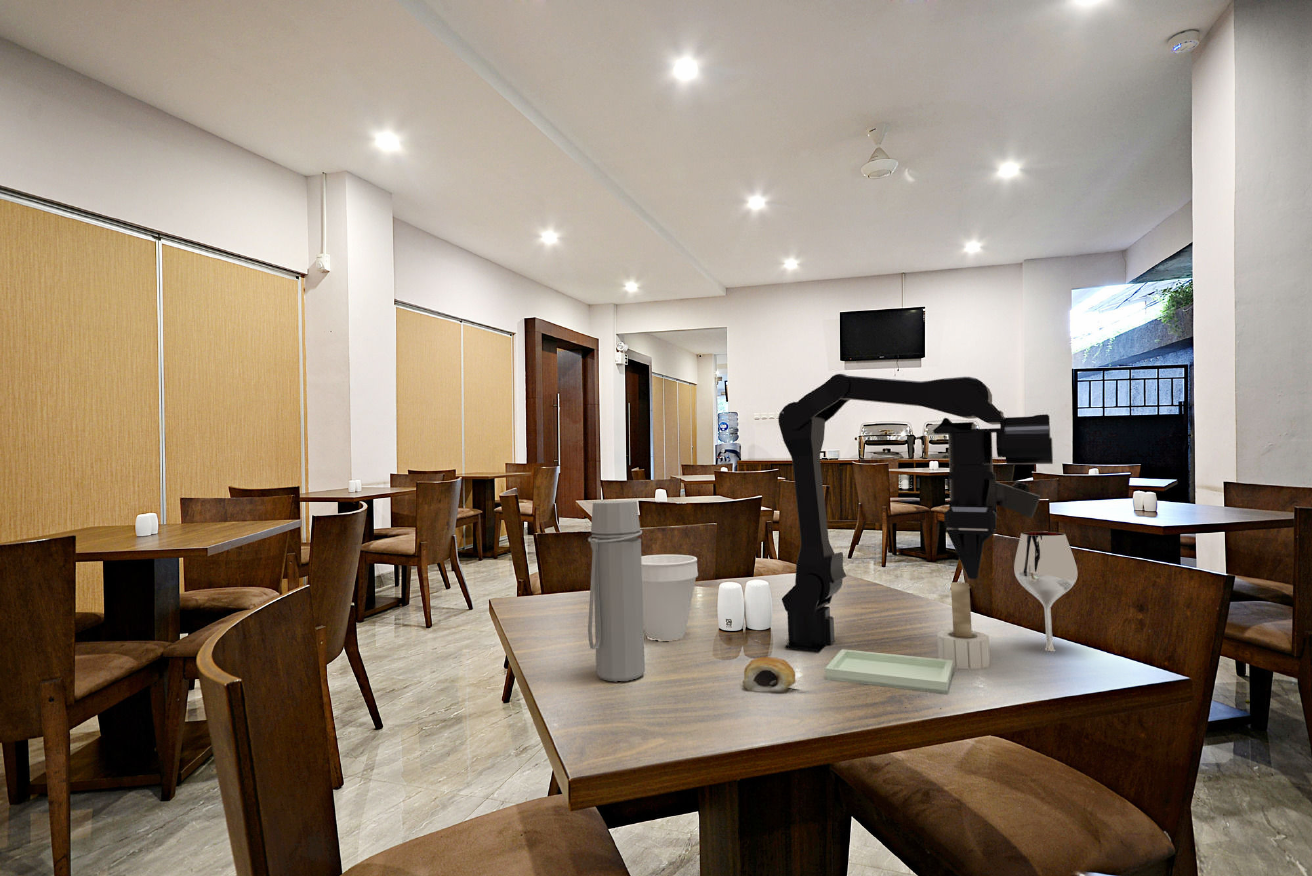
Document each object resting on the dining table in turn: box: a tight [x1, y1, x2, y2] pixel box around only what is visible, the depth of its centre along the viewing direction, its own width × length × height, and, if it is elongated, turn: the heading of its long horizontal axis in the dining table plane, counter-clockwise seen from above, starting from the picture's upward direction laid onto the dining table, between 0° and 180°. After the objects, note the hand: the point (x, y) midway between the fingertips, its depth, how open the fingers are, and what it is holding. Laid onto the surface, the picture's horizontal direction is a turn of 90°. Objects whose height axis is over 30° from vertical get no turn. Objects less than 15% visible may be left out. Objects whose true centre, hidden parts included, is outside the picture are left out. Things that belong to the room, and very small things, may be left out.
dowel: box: [950, 581, 973, 639], centre depth 94 cm, size 2×2×11 cm
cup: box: [641, 554, 699, 640], centre depth 117 cm, size 12×12×14 cm
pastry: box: [742, 656, 796, 693], centre depth 90 cm, size 9×7×4 cm
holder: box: [936, 629, 991, 670], centre depth 94 cm, size 7×7×4 cm
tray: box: [824, 648, 955, 695], centre depth 89 cm, size 15×10×2 cm, turn 62°
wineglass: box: [1013, 531, 1079, 652], centre depth 98 cm, size 8×8×18 cm
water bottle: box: [587, 500, 646, 683], centre depth 95 cm, size 9×8×25 cm
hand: (974, 573), depth 94 cm, fingers open, 9 cm apart
